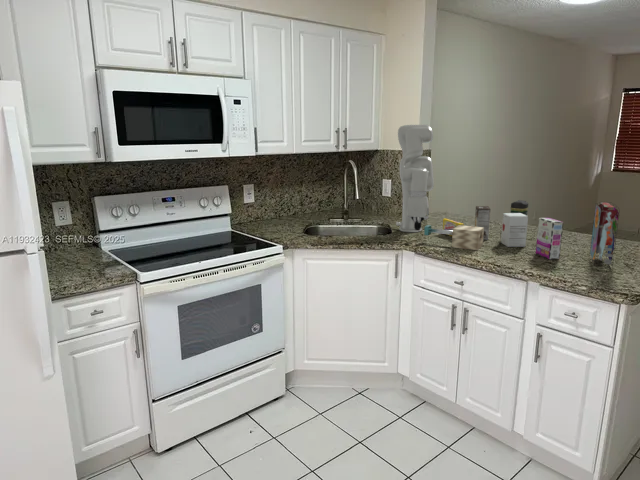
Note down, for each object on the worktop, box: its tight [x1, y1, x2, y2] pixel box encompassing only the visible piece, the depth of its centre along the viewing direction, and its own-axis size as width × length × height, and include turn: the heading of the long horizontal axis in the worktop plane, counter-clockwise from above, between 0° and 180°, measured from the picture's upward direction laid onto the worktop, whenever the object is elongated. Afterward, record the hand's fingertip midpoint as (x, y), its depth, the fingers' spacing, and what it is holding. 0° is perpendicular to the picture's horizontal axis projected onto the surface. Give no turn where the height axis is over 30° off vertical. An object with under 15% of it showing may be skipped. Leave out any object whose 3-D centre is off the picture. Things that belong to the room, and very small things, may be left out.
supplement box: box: [500, 212, 529, 248], centre depth 218 cm, size 9×9×15 cm
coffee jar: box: [509, 199, 529, 216], centre depth 237 cm, size 10×8×19 cm
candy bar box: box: [535, 217, 564, 260], centre depth 197 cm, size 11×5×16 cm, turn 5°
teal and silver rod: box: [423, 224, 453, 236], centre depth 223 cm, size 18×4×4 cm, turn 57°
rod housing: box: [451, 225, 484, 251], centre depth 217 cm, size 12×10×9 cm
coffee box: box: [474, 205, 491, 241], centre depth 234 cm, size 9×6×16 cm
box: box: [589, 201, 620, 270], centre depth 188 cm, size 25×6×24 cm, turn 156°
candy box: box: [442, 218, 465, 237], centre depth 240 cm, size 16×2×8 cm, turn 19°
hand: (417, 229), depth 230 cm, fingers closed
